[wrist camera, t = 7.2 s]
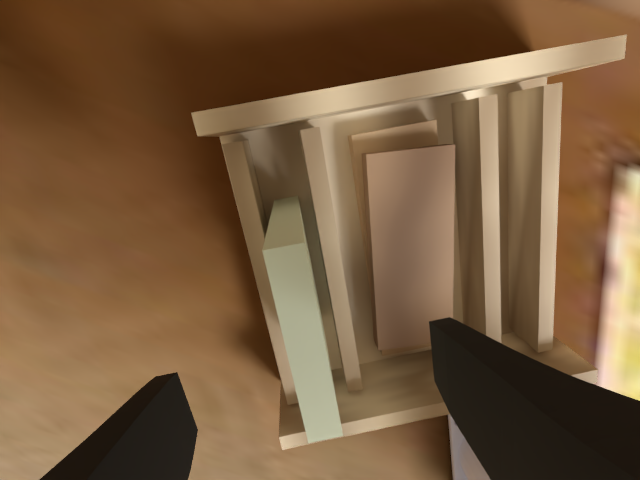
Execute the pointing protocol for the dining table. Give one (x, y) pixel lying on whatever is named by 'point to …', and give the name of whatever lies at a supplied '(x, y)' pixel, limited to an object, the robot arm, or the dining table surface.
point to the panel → (301, 319)
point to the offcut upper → (409, 241)
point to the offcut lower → (385, 141)
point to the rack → (469, 216)
